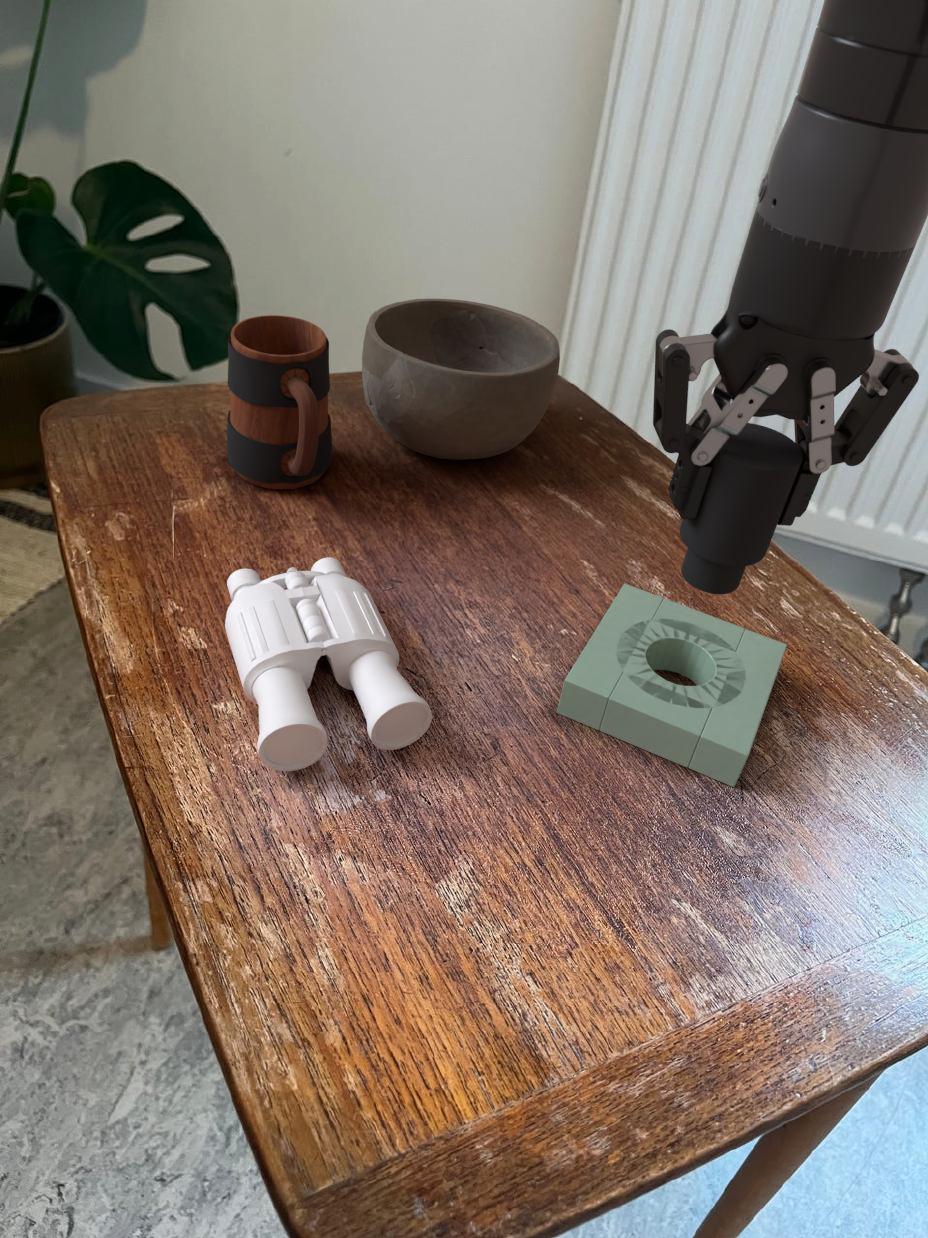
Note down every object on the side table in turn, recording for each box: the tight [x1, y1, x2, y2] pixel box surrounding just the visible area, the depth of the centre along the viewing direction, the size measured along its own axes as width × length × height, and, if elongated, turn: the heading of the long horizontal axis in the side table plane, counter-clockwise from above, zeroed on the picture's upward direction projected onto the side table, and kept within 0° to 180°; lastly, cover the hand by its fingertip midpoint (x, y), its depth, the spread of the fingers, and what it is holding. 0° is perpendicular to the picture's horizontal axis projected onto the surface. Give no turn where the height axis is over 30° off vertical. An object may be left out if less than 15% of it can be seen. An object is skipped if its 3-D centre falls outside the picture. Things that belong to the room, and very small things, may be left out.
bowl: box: [361, 298, 561, 461], centre depth 86 cm, size 17×18×10 cm
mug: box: [226, 314, 333, 490], centre depth 77 cm, size 9×12×12 cm
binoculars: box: [224, 556, 433, 772], centre depth 61 cm, size 10×16×5 cm, turn 21°
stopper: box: [679, 422, 803, 595], centre depth 56 cm, size 5×5×9 cm
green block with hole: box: [556, 583, 788, 788], centre depth 65 cm, size 12×12×3 cm
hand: (732, 513), depth 56 cm, fingers closed on stopper, 5 cm apart
